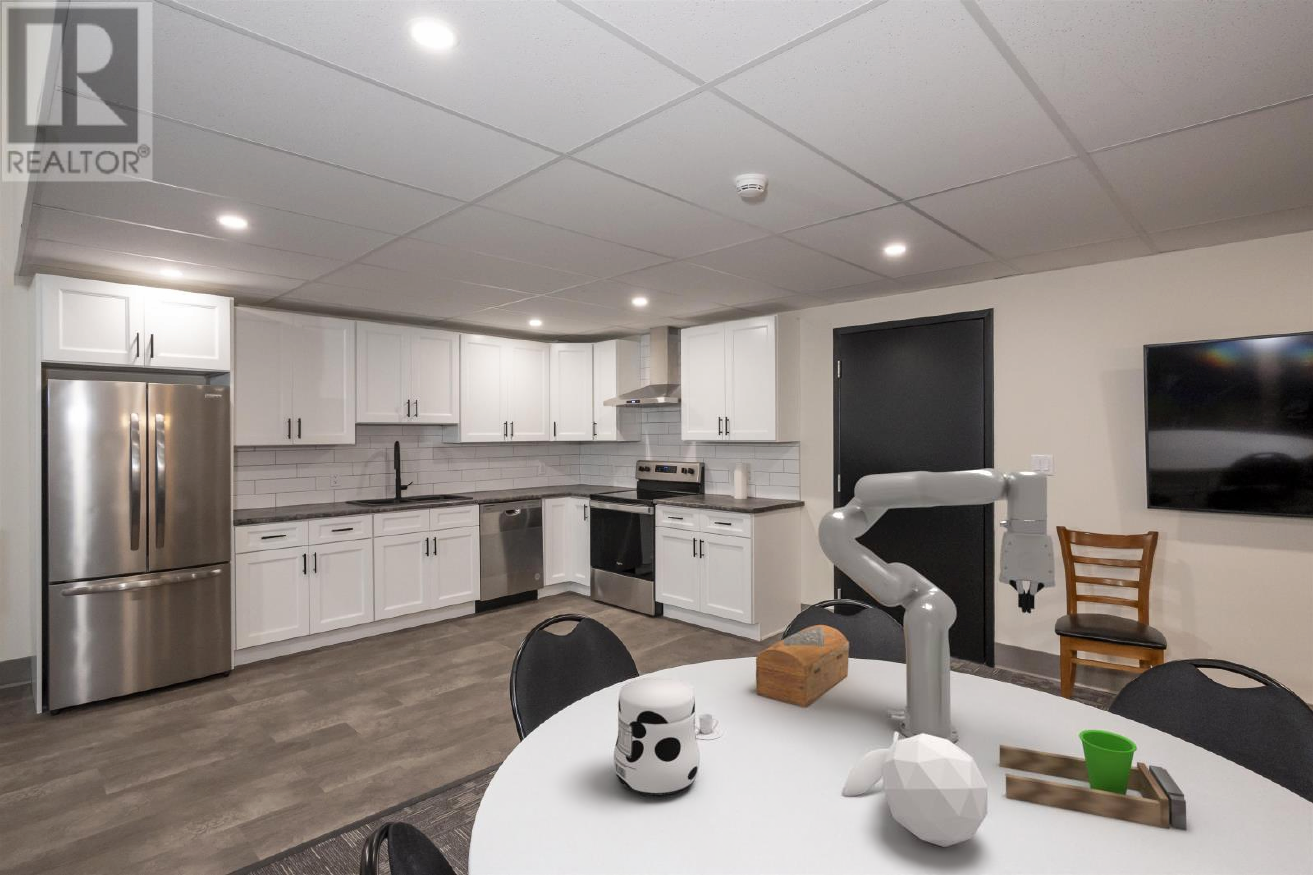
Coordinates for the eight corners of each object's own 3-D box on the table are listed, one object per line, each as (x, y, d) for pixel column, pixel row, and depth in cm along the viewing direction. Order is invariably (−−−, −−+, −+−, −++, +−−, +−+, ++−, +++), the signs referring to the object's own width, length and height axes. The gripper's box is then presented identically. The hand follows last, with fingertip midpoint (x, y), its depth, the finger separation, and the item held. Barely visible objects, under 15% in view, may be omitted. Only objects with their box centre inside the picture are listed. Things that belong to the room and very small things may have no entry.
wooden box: (799, 665, 199) (799, 620, 199) (851, 676, 189) (850, 629, 189) (750, 694, 176) (750, 643, 176) (806, 709, 165) (806, 655, 166)
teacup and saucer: (680, 737, 149) (681, 719, 150) (692, 724, 157) (692, 707, 157) (717, 744, 146) (717, 726, 146) (726, 730, 153) (726, 712, 154)
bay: (1006, 797, 123) (1006, 769, 123) (999, 763, 136) (999, 738, 136) (1189, 832, 112) (1188, 801, 112) (1162, 791, 125) (1161, 763, 125)
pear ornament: (971, 741, 103) (898, 680, 131) (859, 828, 102) (810, 747, 129) (1031, 824, 103) (945, 745, 131) (920, 912, 102) (857, 813, 130)
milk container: (709, 767, 135) (709, 681, 135) (685, 811, 118) (685, 712, 119) (632, 754, 140) (632, 671, 141) (599, 794, 124) (599, 700, 124)
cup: (1149, 811, 118) (1148, 751, 118) (1098, 811, 118) (1098, 751, 118) (1115, 785, 127) (1115, 729, 127) (1069, 784, 127) (1068, 729, 127)
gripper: (988, 526, 140) (988, 611, 140) (1069, 531, 133) (1069, 620, 133) (987, 523, 146) (987, 603, 146) (1064, 527, 140) (1064, 612, 140)
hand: (1026, 611), depth 140 cm, fingers closed
